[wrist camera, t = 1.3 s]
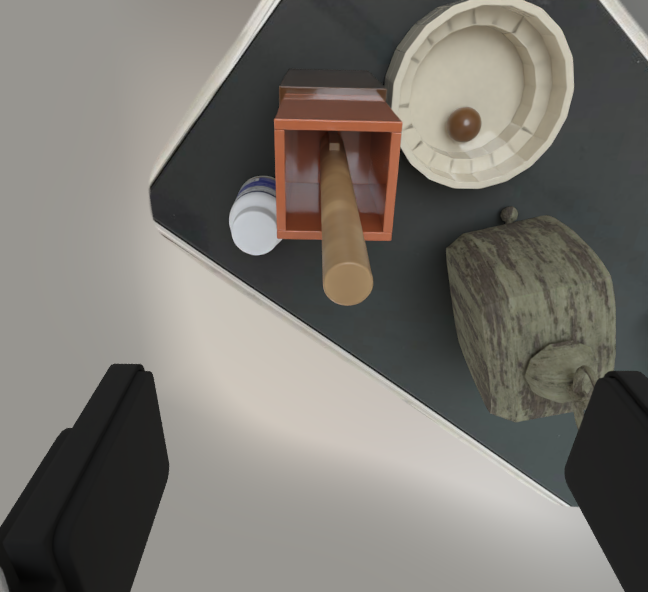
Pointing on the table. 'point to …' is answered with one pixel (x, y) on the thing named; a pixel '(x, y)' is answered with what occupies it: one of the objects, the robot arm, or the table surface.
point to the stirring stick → (341, 228)
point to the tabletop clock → (532, 316)
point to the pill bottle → (255, 216)
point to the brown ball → (463, 124)
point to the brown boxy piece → (359, 141)
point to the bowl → (480, 89)
